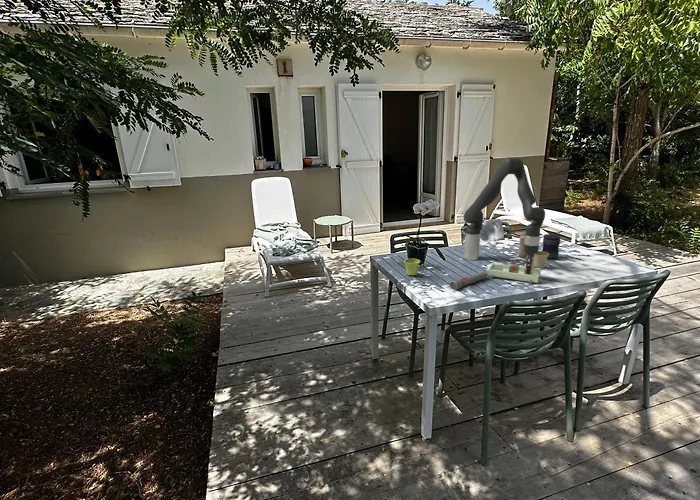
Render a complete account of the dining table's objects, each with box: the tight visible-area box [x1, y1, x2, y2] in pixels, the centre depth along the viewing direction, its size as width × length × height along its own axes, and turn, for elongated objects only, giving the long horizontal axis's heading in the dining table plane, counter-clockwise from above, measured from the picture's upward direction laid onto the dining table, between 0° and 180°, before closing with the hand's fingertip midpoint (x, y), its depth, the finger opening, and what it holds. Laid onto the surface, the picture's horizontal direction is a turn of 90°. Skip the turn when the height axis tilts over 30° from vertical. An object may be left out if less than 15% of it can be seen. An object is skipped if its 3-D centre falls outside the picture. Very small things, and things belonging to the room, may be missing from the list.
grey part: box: [494, 261, 504, 271], centre depth 224 cm, size 4×4×5 cm
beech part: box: [524, 263, 535, 275], centre depth 215 cm, size 4×4×5 cm
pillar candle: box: [517, 234, 528, 259], centre depth 255 cm, size 10×10×15 cm
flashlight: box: [449, 270, 489, 291], centre depth 212 cm, size 5×28×5 cm, turn 125°
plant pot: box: [403, 258, 421, 277], centre depth 228 cm, size 9×9×9 cm
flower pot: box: [533, 250, 549, 269], centre depth 236 cm, size 9×9×9 cm
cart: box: [485, 262, 542, 285], centre depth 220 cm, size 27×16×4 cm, turn 59°
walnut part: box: [509, 263, 520, 273], centre depth 220 cm, size 4×4×5 cm
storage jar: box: [541, 233, 561, 261], centre depth 251 cm, size 10×10×15 cm
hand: (528, 272), depth 216 cm, fingers closed on beech part, 4 cm apart
